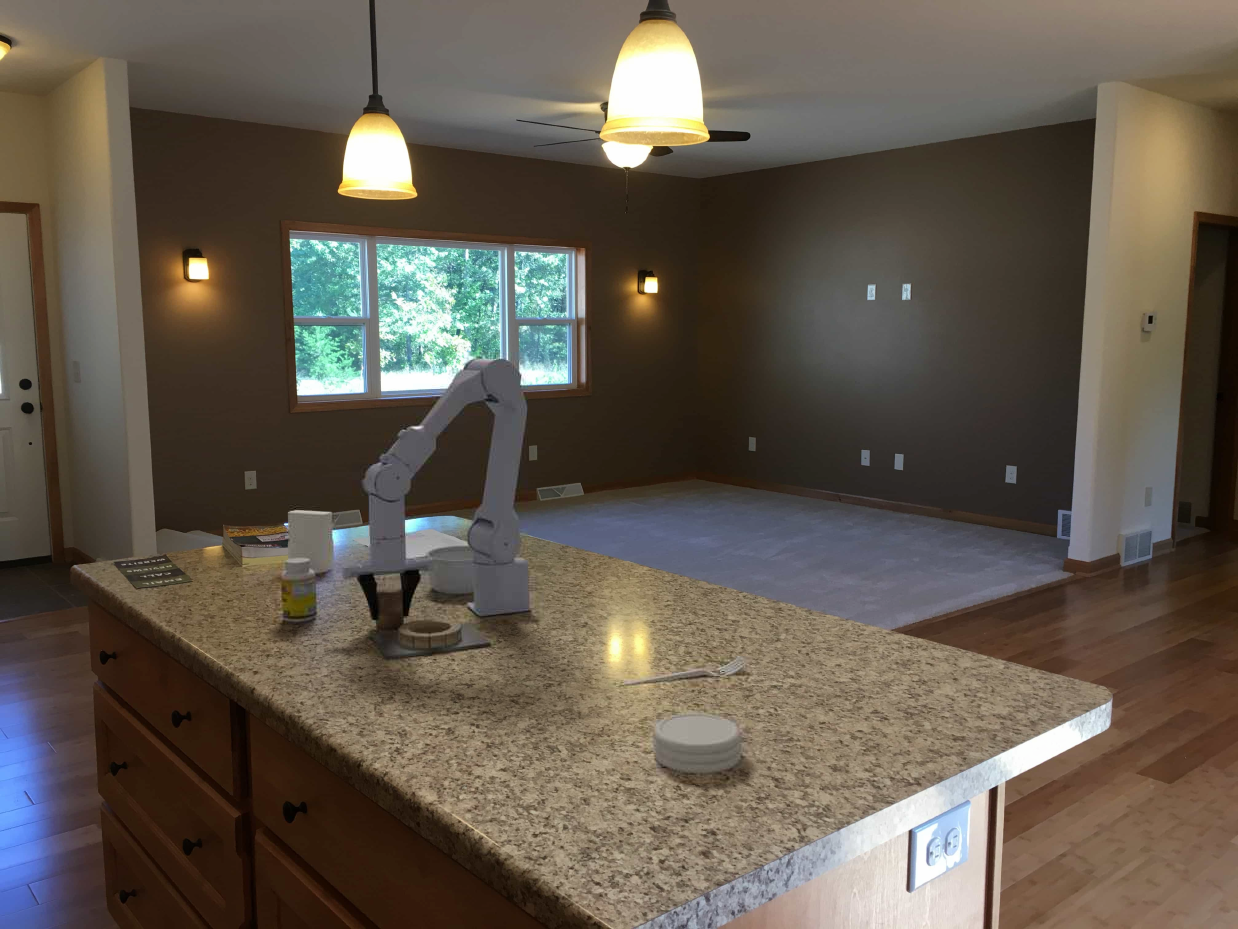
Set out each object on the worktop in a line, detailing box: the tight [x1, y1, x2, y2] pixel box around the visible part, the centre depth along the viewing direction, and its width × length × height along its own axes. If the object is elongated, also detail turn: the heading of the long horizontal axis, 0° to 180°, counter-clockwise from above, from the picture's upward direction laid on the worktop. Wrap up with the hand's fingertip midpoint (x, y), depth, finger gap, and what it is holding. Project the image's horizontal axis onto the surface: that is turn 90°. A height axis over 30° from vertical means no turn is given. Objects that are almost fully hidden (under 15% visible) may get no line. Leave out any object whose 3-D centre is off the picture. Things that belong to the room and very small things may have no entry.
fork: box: [619, 656, 749, 686], centre depth 137 cm, size 3×20×2 cm, turn 111°
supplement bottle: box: [280, 558, 318, 623], centre depth 165 cm, size 6×6×10 cm
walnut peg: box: [375, 587, 405, 632], centre depth 161 cm, size 4×4×6 cm
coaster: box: [652, 712, 743, 775], centre depth 111 cm, size 10×10×4 cm
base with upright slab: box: [287, 509, 335, 574], centre depth 202 cm, size 9×9×12 cm
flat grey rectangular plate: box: [370, 618, 492, 660], centre depth 153 cm, size 16×12×2 cm
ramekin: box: [425, 545, 474, 595], centre depth 188 cm, size 13×13×7 cm
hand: (389, 617), depth 161 cm, fingers closed on walnut peg, 4 cm apart
